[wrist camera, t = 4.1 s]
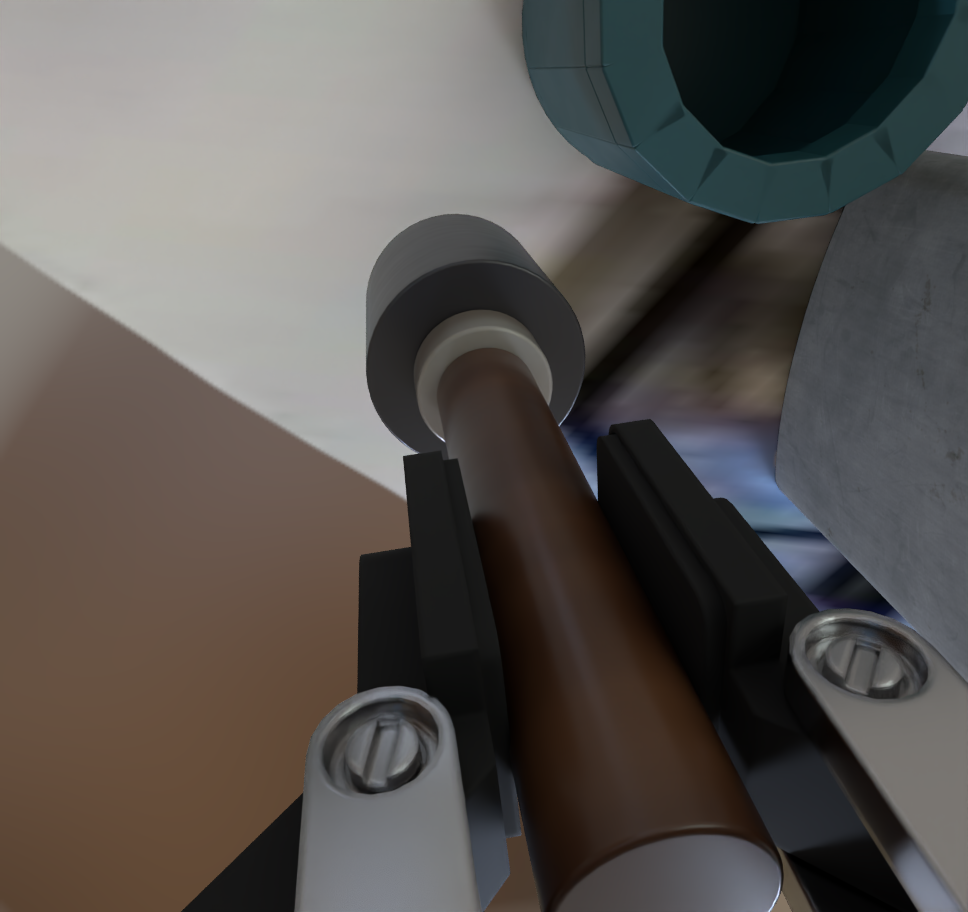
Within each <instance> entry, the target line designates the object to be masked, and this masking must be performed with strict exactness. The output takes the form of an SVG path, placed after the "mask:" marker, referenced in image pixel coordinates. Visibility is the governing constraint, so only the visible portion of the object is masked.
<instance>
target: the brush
mask: <svg viewBox="0 0 968 912" xmlns="http://www.w3.org/2000/svg"><path fill="white" fill-rule="evenodd" d="M584 370H585V346H584V339H583V335H582V331H581V327H580V325H579V322H578V320H577V317H576V315H575V313H574V312H573V310H572V308H571V306H570V305H569V303H568V302H567V301H566V299H565V298H564V297H563V295H562V294H561V293H560V292H559V290H558V289H557V288H556V287H555V286H554V284H553V283H552V282H551V281H550V279H549V278H548V277H547V276H546V274H545V273H544V272H543V271H542V270H541V268H540V267H539V266H538V265H537V263H536V262H535V261H534V260H533V258H532V257H531V256H530V255H529V254H528V252H527V251H526V250H525V249H524V247H523V246H522V245H521V244H520V242H519V241H518V240H517V239H516V238H514V237H513V236H512V235H511V234H510V233H509V232H507V231H506V230H505V229H503V228H502V227H500V226H498V225H497V224H495V223H493V222H491V221H488V220H485V219H483V218H480V217H476V216H471V215H464V214H446V215H440V216H435V217H431V218H428V219H425V220H422V221H419V222H417V223H415V224H413V225H411V226H410V227H408V228H407V229H405V230H404V231H402V232H401V233H399V234H398V235H397V236H396V237H395V238H394V239H393V240H392V241H391V242H390V243H389V244H388V245H387V246H386V248H385V249H384V250H383V251H382V253H381V255H380V256H379V258H378V259H377V261H376V263H375V265H374V267H373V270H372V272H371V275H370V279H369V282H368V288H367V296H366V376H367V384H368V389H369V393H370V397H371V400H372V402H373V405H374V407H375V409H376V411H377V413H378V415H379V417H380V418H381V420H382V422H383V423H384V424H385V426H386V427H387V428H388V429H389V431H390V432H391V433H392V434H393V435H394V436H395V437H396V438H397V439H398V440H399V441H400V442H402V443H403V444H404V445H406V446H407V447H408V448H410V449H411V450H413V451H415V452H417V453H418V454H420V453H427V452H434V451H440V450H441V452H442V457H443V460H448V459H455V458H458V461H459V466H460V470H461V474H462V479H463V483H464V488H465V492H466V497H467V501H468V506H469V510H470V514H471V519H472V523H473V528H474V532H475V537H476V541H477V545H478V550H479V554H480V559H481V563H482V568H483V572H484V576H485V581H486V585H487V590H488V594H489V599H490V603H491V608H492V612H493V616H494V621H495V625H496V630H497V636H498V641H499V647H500V653H501V660H502V668H503V676H504V685H505V694H506V703H507V712H508V721H509V730H510V738H511V742H510V748H509V755H510V762H511V767H512V772H513V777H514V782H515V787H516V792H517V797H518V802H519V806H520V811H521V816H522V821H523V826H524V831H525V836H526V841H527V845H528V851H529V856H530V861H531V865H532V871H533V876H534V880H535V885H536V890H537V894H538V900H539V905H540V909H541V912H771V910H772V908H773V907H774V906H775V904H776V902H777V900H778V898H779V896H780V894H781V890H782V887H783V880H784V871H783V864H782V858H781V856H780V854H779V851H778V849H777V847H776V845H775V843H774V841H773V840H772V838H771V836H770V834H769V832H768V830H767V828H766V826H765V824H764V822H763V820H762V818H761V816H760V814H759V812H758V810H757V809H756V807H755V805H754V803H753V801H752V799H751V797H750V795H749V793H748V791H747V789H746V787H745V785H744V783H743V781H742V780H741V778H740V776H739V774H738V772H737V770H736V768H735V766H734V764H733V762H732V760H731V758H730V756H729V754H728V752H727V751H726V749H725V747H724V745H723V743H722V741H721V739H720V737H719V735H718V733H717V731H716V729H715V727H714V725H713V723H712V721H711V720H710V718H709V716H708V714H707V712H706V710H705V708H704V706H703V704H702V702H701V700H700V698H699V696H698V694H697V692H696V691H695V689H694V687H693V685H692V683H691V681H690V679H689V677H688V675H687V673H686V671H685V669H684V667H683V665H682V663H681V662H680V660H679V658H678V656H677V654H676V652H675V650H674V648H673V646H672V644H671V642H670V640H669V638H668V636H667V634H666V632H665V631H664V629H663V627H662V625H661V623H660V621H659V619H658V617H657V615H656V613H655V611H654V609H653V607H652V605H651V603H650V602H649V600H648V598H647V596H646V594H645V592H644V590H643V588H642V586H641V584H640V582H639V580H638V578H637V576H636V574H635V573H634V571H633V569H632V567H631V565H630V563H629V561H628V559H627V557H626V555H625V553H624V551H623V549H622V547H621V545H620V543H619V542H618V540H617V538H616V536H615V534H614V532H613V530H612V528H611V526H610V524H609V522H608V520H607V518H606V516H605V514H604V513H603V511H602V509H601V507H600V505H599V503H598V501H597V499H596V497H595V495H594V493H593V491H592V489H591V487H590V485H589V484H588V482H587V480H586V478H585V476H584V474H583V472H582V470H581V468H580V466H579V464H578V462H577V460H576V458H575V456H574V455H573V453H572V451H571V449H570V447H569V445H568V443H567V441H566V439H565V437H564V435H563V433H562V431H561V429H560V427H559V426H560V424H561V423H562V422H563V421H564V419H565V418H566V417H567V415H568V413H569V412H570V410H571V409H572V407H573V405H574V403H575V401H576V398H577V396H578V394H579V391H580V388H581V385H582V381H583V376H584Z"/></svg>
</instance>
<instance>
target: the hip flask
mask: <svg viewBox="0 0 968 912" xmlns="http://www.w3.org/2000/svg"><path fill="white" fill-rule="evenodd" d="M775 478H776V483H777V486H778V488H779V489H780V490H781V491H782V493H783V494H784V495H785V496H786V497H787V498H788V499H789V500H790V501H791V502H792V503H793V504H794V505H795V506H796V507H797V508H798V509H799V510H800V511H801V512H802V513H803V514H804V515H805V516H806V517H807V518H808V519H809V520H810V521H811V522H812V523H813V525H814V526H815V527H816V528H817V529H818V530H819V531H820V532H821V533H822V534H823V535H824V536H825V537H826V538H827V539H828V540H829V541H830V542H831V543H832V544H833V545H834V546H835V547H836V548H837V549H838V550H839V551H840V552H841V553H842V554H843V555H844V556H845V558H846V559H847V560H848V561H849V562H850V563H851V564H852V565H853V566H854V567H855V568H856V569H857V570H858V571H859V572H860V573H861V574H862V575H863V576H864V577H865V578H866V579H867V580H868V581H869V582H870V583H871V584H872V585H873V586H874V587H875V588H876V590H877V591H878V592H879V593H880V594H881V595H882V596H883V597H884V598H885V599H886V600H887V601H888V602H889V603H890V604H891V605H892V606H893V607H894V608H895V609H896V610H897V611H898V612H899V613H900V614H901V615H902V616H903V617H904V618H905V619H906V620H907V621H908V623H909V624H910V625H911V626H912V627H913V628H914V629H915V630H916V631H917V632H918V633H919V634H920V635H921V636H922V637H923V638H925V639H926V640H927V641H928V642H929V643H931V644H932V645H933V646H934V647H935V648H936V649H937V650H938V651H939V653H940V654H941V655H942V656H943V657H944V658H945V659H946V660H947V661H948V662H949V663H950V664H951V665H952V666H953V667H954V668H955V670H956V671H957V672H958V673H959V674H960V675H961V676H962V677H963V678H964V679H965V680H966V681H967V682H968V156H961V155H954V154H947V153H940V152H933V151H926V150H925V151H924V152H923V153H922V154H921V155H920V156H919V157H918V158H917V159H916V160H915V161H914V162H913V163H912V164H911V166H910V167H909V168H908V169H907V170H906V171H905V172H904V173H903V174H902V175H899V176H898V177H896V178H894V179H892V180H891V181H889V182H887V183H885V184H883V185H881V186H880V187H878V188H876V189H874V190H872V191H871V192H869V193H867V194H865V195H863V196H861V197H860V198H858V199H856V200H854V201H852V202H851V203H849V204H847V205H846V206H845V208H844V210H843V213H842V215H841V217H840V220H839V222H838V224H837V227H836V229H835V231H834V234H833V236H832V239H831V241H830V244H829V246H828V249H827V252H826V254H825V257H824V260H823V262H822V265H821V268H820V271H819V274H818V276H817V279H816V282H815V285H814V288H813V291H812V294H811V297H810V300H809V304H808V307H807V310H806V313H805V316H804V320H803V324H802V327H801V331H800V334H799V338H798V342H797V345H796V349H795V353H794V357H793V361H792V365H791V369H790V374H789V378H788V383H787V387H786V392H785V398H784V403H783V409H782V415H781V421H780V428H779V435H778V446H777V456H776V473H775Z"/></svg>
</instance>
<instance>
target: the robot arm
mask: <svg viewBox="0 0 968 912" xmlns="http://www.w3.org/2000/svg"><path fill="white" fill-rule="evenodd" d="M403 461H404V472H405V483H406V495H407V506H408V516H409V527H410V539H411V547H408V548H402V549H395V550H389V551H383V552H377V553H370V554H364V555H361V556H360V562H359V619H358V621H359V622H358V685H357V686H358V688H357V691H358V692H357V694H356V695H354V696H353V697H351V698H349V699H347V700H346V701H344V702H342V703H340V704H338V705H337V706H336V707H335V708H334V709H333V710H332V711H331V712H330V713H329V714H328V715H327V716H325V717H324V718H323V719H322V721H321V722H320V724H319V726H318V727H317V729H316V730H315V732H314V733H313V735H312V736H311V739H310V743H309V747H308V751H307V755H306V764H305V777H304V791H303V793H302V794H301V795H300V796H299V797H298V798H297V799H296V800H295V801H294V802H293V803H292V804H291V805H290V806H289V807H288V808H287V809H286V810H285V811H284V812H283V813H282V814H281V815H280V816H279V817H278V818H277V819H276V820H275V821H274V822H273V823H272V824H271V825H270V826H269V827H268V828H267V829H265V831H264V832H262V834H260V835H259V836H258V837H257V838H256V839H255V840H254V841H253V842H252V843H251V844H250V845H249V846H248V847H247V848H246V849H245V850H244V851H243V852H242V853H241V854H240V855H239V856H238V857H237V858H236V859H235V860H234V861H233V862H232V863H231V864H230V865H229V866H228V867H226V868H225V869H224V871H222V873H220V874H219V875H218V876H217V877H216V878H215V879H214V880H213V881H212V882H211V883H210V884H209V885H208V886H207V887H206V888H205V889H204V890H203V891H202V892H201V893H200V894H199V895H198V896H197V897H196V898H195V899H194V900H193V901H192V902H191V903H190V904H189V905H188V906H186V907H185V909H183V910H182V911H181V912H485V909H486V907H487V906H488V904H489V903H490V902H491V900H492V899H493V897H494V896H495V894H496V893H497V892H498V890H499V889H500V887H501V886H502V885H503V883H504V882H505V880H506V879H507V878H508V876H509V875H510V867H509V860H508V852H507V844H506V838H510V837H514V836H520V835H521V827H520V818H519V809H518V801H517V792H516V787H515V782H514V777H513V772H512V767H511V762H510V755H509V748H510V742H511V738H510V730H509V721H508V712H507V703H506V694H505V685H504V676H503V668H502V660H501V653H500V647H499V641H498V636H497V630H496V625H495V621H494V616H493V612H492V608H491V603H490V599H489V594H488V590H487V585H486V581H485V576H484V572H483V568H482V563H481V559H480V554H479V550H478V545H477V541H476V537H475V532H474V528H473V523H472V519H471V514H470V510H469V506H468V501H467V497H466V492H465V488H464V483H463V479H462V474H461V470H460V466H459V461H458V458H455V459H448V460H443V457H442V452H441V450H440V451H434V452H427V453H420V454H414V455H407V456H403ZM597 478H598V503H599V505H600V507H601V509H602V511H603V513H604V514H605V516H606V518H607V520H608V522H609V524H610V526H611V528H612V530H613V532H614V534H615V536H616V538H617V540H618V542H619V543H620V545H621V547H622V549H623V551H624V553H625V555H626V557H627V559H628V561H629V563H630V565H631V567H632V569H633V571H634V573H635V574H636V576H637V578H638V580H639V582H640V584H641V586H642V588H643V590H644V592H645V594H646V596H647V598H648V600H649V602H650V603H651V605H652V607H653V609H654V611H655V613H656V615H657V617H658V619H659V621H660V623H661V625H662V627H663V629H664V631H665V632H666V634H667V636H668V638H669V640H670V642H671V644H672V646H673V648H674V650H675V652H676V654H677V656H678V658H679V660H680V662H681V663H682V665H683V667H684V669H685V671H686V673H687V675H688V677H689V679H690V681H691V683H692V685H693V687H694V689H695V691H696V692H697V694H698V696H699V698H700V700H701V702H702V704H703V706H704V708H705V710H706V712H707V714H708V716H709V718H710V720H711V721H712V723H713V725H714V727H715V729H716V731H717V733H718V735H719V737H720V739H721V741H722V743H723V745H724V747H725V749H726V751H727V752H728V754H729V756H730V758H731V760H732V762H733V764H734V766H735V768H736V770H737V772H738V774H739V776H740V778H741V780H742V781H743V783H744V785H745V787H746V789H747V791H748V793H749V795H750V797H751V799H752V801H753V803H754V805H755V807H756V809H757V810H758V812H759V814H760V816H761V818H762V820H763V822H764V824H765V826H766V828H767V830H768V832H769V834H770V836H771V838H772V840H773V841H774V843H775V845H776V847H777V849H778V851H779V854H780V856H781V858H782V864H783V871H784V880H783V887H782V892H783V894H784V896H785V898H786V900H787V902H788V905H789V906H790V909H791V911H792V912H968V682H967V681H966V680H965V679H964V678H963V677H962V676H961V675H960V674H959V673H958V672H957V671H956V670H955V668H954V667H953V666H952V665H951V664H950V663H949V662H948V661H947V660H946V659H945V658H944V657H943V656H942V655H941V654H940V653H939V651H938V650H937V649H936V648H935V647H934V646H933V645H932V644H931V643H929V642H928V641H927V640H926V639H925V638H923V637H922V636H921V635H920V634H919V633H917V632H916V631H915V630H913V629H911V628H910V627H908V626H906V625H904V624H902V623H900V622H898V621H896V620H895V619H892V618H889V617H886V616H883V615H880V614H876V613H873V612H869V611H862V610H855V609H830V610H824V611H821V612H819V610H818V609H817V608H816V607H815V606H814V604H813V603H812V602H811V601H810V599H809V598H808V597H807V596H806V594H805V593H804V592H803V591H802V589H801V588H800V587H799V586H798V585H797V583H796V582H795V581H794V580H793V578H792V577H791V576H790V575H789V573H788V572H787V571H786V570H785V569H784V567H783V566H782V565H781V564H780V562H779V561H778V560H777V559H776V557H775V556H774V555H773V554H772V552H771V551H770V550H769V549H768V548H767V546H766V545H765V544H764V543H763V541H762V540H761V539H760V538H759V536H758V535H757V534H756V533H755V531H754V530H753V529H752V528H751V527H750V525H749V524H748V523H747V522H746V520H745V519H744V518H743V517H742V515H741V514H740V513H739V512H738V511H737V509H736V508H735V507H734V506H733V504H731V503H730V502H729V501H728V500H727V499H725V498H715V499H713V498H712V497H711V495H710V494H709V493H708V492H707V490H706V489H705V488H704V486H703V485H702V484H701V483H700V481H699V480H698V479H697V477H696V476H695V475H694V473H693V472H692V471H691V470H690V468H689V467H688V466H687V464H686V463H685V462H684V461H683V459H682V458H681V457H680V455H679V454H678V453H677V452H676V450H675V449H674V448H673V446H672V445H671V444H670V443H669V441H668V440H667V439H666V437H665V436H664V435H663V434H662V432H661V431H660V430H659V428H658V427H657V426H656V425H655V423H654V422H653V421H652V420H651V419H647V420H640V421H634V422H627V423H620V424H614V425H611V427H610V429H609V435H607V436H600V437H598V440H597Z"/></svg>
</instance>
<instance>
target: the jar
mask: <svg viewBox="0 0 968 912" xmlns="http://www.w3.org/2000/svg"><path fill="white" fill-rule="evenodd" d="M522 37H523V45H524V54H525V60H526V64H527V68H528V72H529V76H530V79H531V82H532V85H533V88H534V90H535V93H536V96H537V98H538V100H539V102H540V104H541V106H542V107H543V109H544V111H545V113H546V115H547V116H548V118H549V119H550V121H551V122H552V123H553V125H554V126H555V128H556V129H557V130H558V131H559V133H560V134H561V135H562V136H563V137H564V138H565V139H566V140H567V141H568V142H569V143H570V144H571V145H572V146H573V147H575V148H576V149H577V150H578V151H580V152H581V153H582V154H583V155H585V156H587V157H588V158H589V159H590V160H591V161H592V162H593V163H595V164H597V165H599V166H601V167H604V168H606V169H609V170H611V171H613V172H616V173H618V174H620V175H623V176H625V177H628V178H630V179H632V180H635V181H637V182H640V183H642V184H644V185H647V186H649V187H652V188H654V189H656V190H659V191H661V192H663V193H666V194H668V195H671V196H673V197H676V198H678V199H680V200H683V201H685V202H688V203H690V204H693V205H696V206H699V207H702V208H705V209H709V210H712V211H715V212H718V213H721V214H724V215H727V216H730V217H733V218H737V219H740V220H743V221H746V222H749V223H757V224H761V223H769V222H776V221H784V220H792V219H799V218H807V217H815V216H822V215H826V214H828V213H832V212H834V211H836V210H838V209H840V208H841V207H843V206H845V205H847V204H849V203H851V202H852V201H854V200H856V199H858V198H860V197H861V196H863V195H865V194H867V193H869V192H871V191H872V190H874V189H876V188H878V187H880V186H881V185H883V184H885V183H887V182H889V181H891V180H892V179H894V178H896V177H898V176H899V175H902V174H903V173H904V172H905V171H906V170H907V169H908V168H909V167H910V166H911V164H912V163H913V162H914V161H915V160H916V159H917V158H918V157H919V156H920V155H921V154H922V153H923V152H924V151H925V150H926V149H927V148H928V147H929V145H930V144H931V143H932V142H933V141H934V140H935V139H936V138H937V137H938V136H939V135H940V134H941V133H942V132H943V131H944V130H945V129H946V128H947V126H948V125H949V124H950V123H951V122H952V121H953V120H954V119H955V118H956V117H957V116H958V115H959V114H960V113H961V112H962V111H963V108H964V107H965V106H966V104H967V102H968V0H523V10H522Z"/></svg>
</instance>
